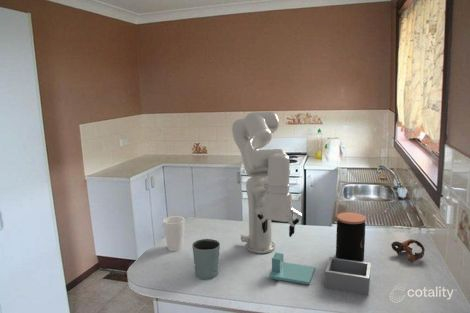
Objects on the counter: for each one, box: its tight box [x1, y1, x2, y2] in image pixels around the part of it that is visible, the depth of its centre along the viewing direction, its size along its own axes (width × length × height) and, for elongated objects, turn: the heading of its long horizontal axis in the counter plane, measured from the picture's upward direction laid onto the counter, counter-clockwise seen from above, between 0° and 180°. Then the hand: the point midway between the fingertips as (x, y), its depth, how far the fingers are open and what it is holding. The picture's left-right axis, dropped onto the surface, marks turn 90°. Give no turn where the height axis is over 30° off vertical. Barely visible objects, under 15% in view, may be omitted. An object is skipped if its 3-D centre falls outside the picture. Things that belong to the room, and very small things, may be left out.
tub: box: [324, 257, 372, 296], centre depth 130 cm, size 14×11×7 cm
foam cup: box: [162, 215, 186, 252], centre depth 164 cm, size 10×9×13 cm
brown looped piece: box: [390, 239, 426, 263], centre depth 150 cm, size 12×10×8 cm
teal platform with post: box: [268, 252, 316, 285], centre depth 137 cm, size 14×11×8 cm
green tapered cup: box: [191, 238, 221, 281], centre depth 141 cm, size 10×10×12 cm
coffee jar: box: [335, 211, 367, 262], centre depth 148 cm, size 11×11×18 cm
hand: (278, 233), depth 138 cm, fingers open, 9 cm apart
